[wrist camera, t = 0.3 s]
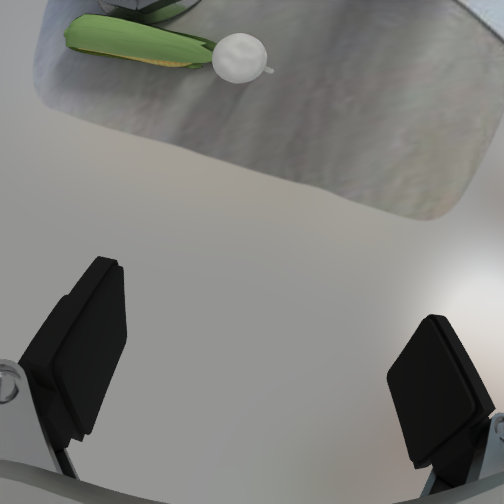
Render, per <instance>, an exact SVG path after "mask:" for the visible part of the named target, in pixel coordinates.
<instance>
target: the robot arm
mask: <svg viewBox="0 0 504 504" xmlns="http://www.w3.org/2000/svg"><path fill="white" fill-rule="evenodd" d="M126 339H127V326H126V312H125V294H124V270H123V267H122V266H118V262H117V260H115V259H110V258H105V257H101V256H98V257H97V258H96V259H95V260H94V261H93V263H92V264H91V265H90V266H89V268H88V269H87V270H86V272H85V273H84V274H83V276H82V277H81V278H80V279H79V281H78V282H77V283H76V285H75V286H74V288H73V289H72V290H71V292H70V293H69V294H68V295H65V296H63V297H62V298H61V299H60V300H59V302H58V303H57V305H56V306H55V307H54V309H53V310H52V312H51V313H50V314H49V316H48V318H47V319H46V320H45V322H44V323H43V325H42V326H41V328H40V329H39V331H38V332H37V334H36V335H35V337H34V338H33V340H32V341H31V343H30V344H29V346H28V347H27V349H26V351H25V352H24V354H23V355H22V357H21V359H20V360H19V362H18V363H15V362H13V361H11V360H6V359H1V360H0V504H168V503H163V502H158V501H153V500H148V499H144V498H139V497H135V496H131V495H128V494H124V493H120V492H116V491H113V490H109V489H106V488H103V487H99V486H96V485H93V484H90V483H87V482H84V481H80V479H79V477H78V475H77V472H76V470H75V468H74V466H73V464H72V462H71V459H70V457H69V455H68V452H67V450H66V448H67V447H68V445H69V443H70V440H71V438H72V439H75V440H78V441H81V442H82V441H83V438H84V435H85V434H87V435H89V434H90V433H91V432H92V430H93V427H94V424H95V421H96V418H97V416H98V412H99V410H100V407H101V405H102V402H103V399H104V397H105V394H106V391H107V389H108V386H109V384H110V381H111V378H112V376H113V373H114V371H115V368H116V366H117V363H118V361H119V358H120V356H121V354H122V351H123V349H124V346H125V344H126ZM387 383H388V385H389V389H390V392H391V395H392V399H393V402H394V405H395V408H396V412H397V415H398V418H399V422H400V425H401V428H402V432H403V436H404V439H405V443H406V447H407V450H408V454H409V458H410V460H411V461H412V462H413V464H414V468H415V469H420V468H425V467H428V466H429V465H431V464H432V466H433V469H432V471H431V473H430V475H429V477H428V480H427V482H426V484H425V487H424V489H423V491H422V493H421V495H420V497H419V498H417V499H413V500H408V501H404V502H399V503H394V504H504V413H497V414H495V415H494V416H493V417H492V418H491V419H489V417H488V416H489V415H490V414H491V413H492V412H493V411H494V410H495V409H496V408H495V406H494V404H493V402H492V400H491V398H490V396H489V394H488V392H487V390H486V388H485V386H484V384H483V382H482V380H481V378H480V376H479V374H478V372H477V370H476V368H475V367H474V365H473V363H472V361H471V359H470V358H469V355H468V354H467V352H466V350H465V348H464V347H463V345H462V343H461V341H460V340H459V338H458V336H457V335H456V333H455V331H454V329H453V328H452V326H451V324H450V323H449V321H448V319H447V318H446V317H445V316H442V315H433V314H430V315H428V316H427V317H426V318H424V319H423V320H422V321H421V323H420V325H419V326H418V328H417V330H416V331H415V333H414V334H413V336H412V337H411V339H410V340H409V342H408V343H407V345H406V346H405V348H404V349H403V351H402V352H401V354H400V355H399V357H398V358H397V360H396V361H395V362H394V364H393V365H392V367H391V368H390V369H389V371H388V373H387Z"/></svg>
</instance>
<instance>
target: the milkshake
mask: <svg viewBox="0 0 504 504" xmlns="http://www.w3.org/2000/svg"><path fill="white" fill-rule="evenodd" d="M266 62H267V53H266V50H265V48H264V46H263V45H262V43H261V42H260V41H259V40H258V39H256V38H255V37H253V36H251V35H248V34H244V33H235V34H231V35H229V36H227V37H225V38H223V39H222V40H220V41H219V42H218V44H217V45H216V47H215V48H214V51H213V54H212V64H213V68H214V70H215V72H216V73H217V74H218V75H219V76H220V77H221V78H222V79H224V80H226V81H229V82H231V83H246V82H250V81H252V80H254V79H256V78H257V77H258V76H259V75H260V74H261V73H262V72H263V71H264V72H267V73H270V74H273V73H274V71H275V69H272V68H269V67H266Z"/></svg>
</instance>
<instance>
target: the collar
mask: <svg viewBox="0 0 504 504" xmlns="http://www.w3.org/2000/svg"><path fill="white" fill-rule="evenodd" d="M200 1H201V0H98V3H99V4H100V6H101V7H102V9H103V10H104V11H105V12H106V13H107V14H109V15H110V16H112V17H117V18H121V19H125V20H130V21H134V22H138V23H142V24H153V23H158V22H162V21H166V20H169V19H172V18H174V17H176V16H178V15H181V14H182V13H184V12H186V11H188V10H189V9H191V8H192V7H193V6H195V5H196V4H197V3H198V2H200Z"/></svg>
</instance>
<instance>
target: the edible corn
mask: <svg viewBox="0 0 504 504" xmlns="http://www.w3.org/2000/svg"><path fill="white" fill-rule="evenodd" d="M64 37H65V38H66V46H67V47H69V48H70V49H72V50H75V51H78V52H82V53H86V54H92V55H98V56H105V57H113V58H119V59H127V60H135V61H142V62H146V63H150V64H154V65H161V66H167V67H185V68H193V69H195V68H200V67H203V66H202V65H201V63H207V62H212V54H213V52H211V51H214V48H215V47H216V45H217V43H214V42H212V41H210V40H207V39H204V38H200V37H196V36H192V35H188V34H183V33H178V32H173V31H170V30H166V29H162V28H158V27H154V26H150V25H146V24H142V23H138V22H134V21H130V20H125V19H121V18H117V17H112V16H105V15H98V14H84V15H82V16H80V17H78V18H76V19H75V20H74V21H72V22H71V23H70V26H69V28H67V29H66V30H65V31H64Z"/></svg>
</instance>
